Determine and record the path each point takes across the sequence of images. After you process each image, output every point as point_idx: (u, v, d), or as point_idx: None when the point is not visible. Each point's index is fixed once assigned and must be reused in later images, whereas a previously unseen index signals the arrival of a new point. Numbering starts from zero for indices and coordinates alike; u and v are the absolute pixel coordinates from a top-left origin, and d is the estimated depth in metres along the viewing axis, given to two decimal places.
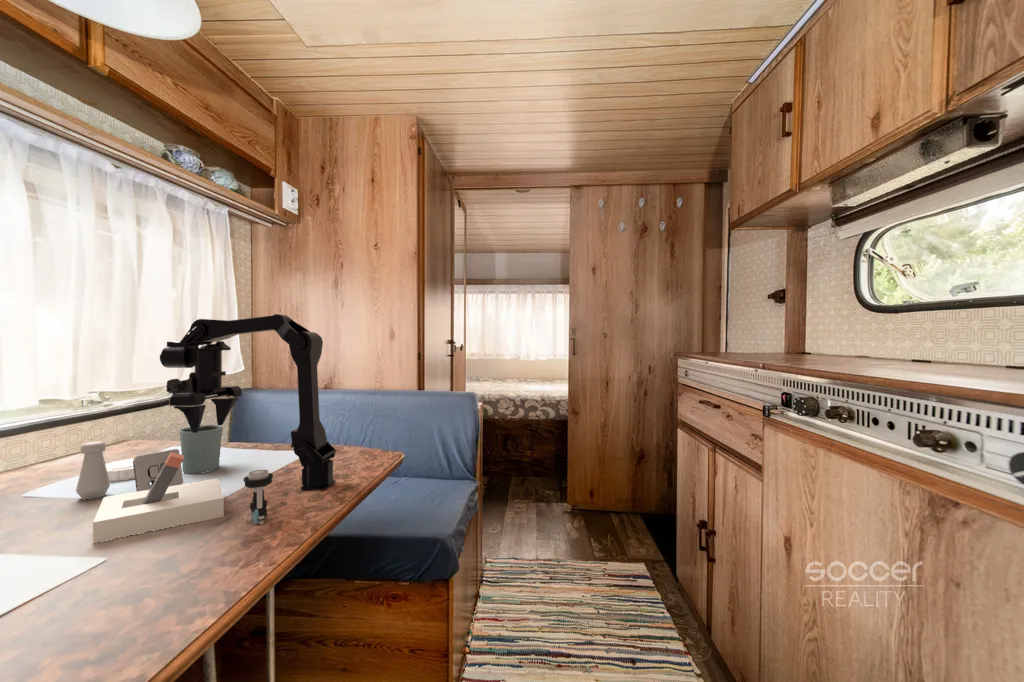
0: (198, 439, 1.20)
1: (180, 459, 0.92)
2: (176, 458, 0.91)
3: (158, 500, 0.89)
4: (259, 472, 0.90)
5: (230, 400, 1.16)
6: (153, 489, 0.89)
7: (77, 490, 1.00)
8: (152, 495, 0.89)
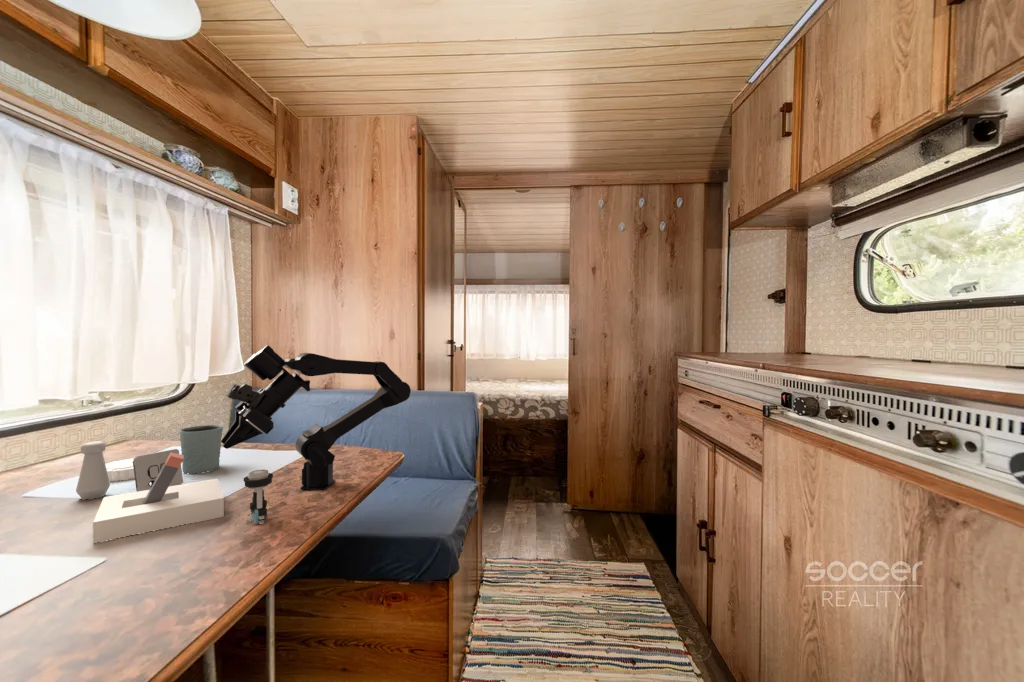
0: (198, 439, 1.20)
1: (180, 459, 0.92)
2: (176, 458, 0.91)
3: (158, 500, 0.89)
4: (259, 472, 0.90)
5: None
6: (153, 489, 0.89)
7: (77, 490, 1.00)
8: (152, 495, 0.89)
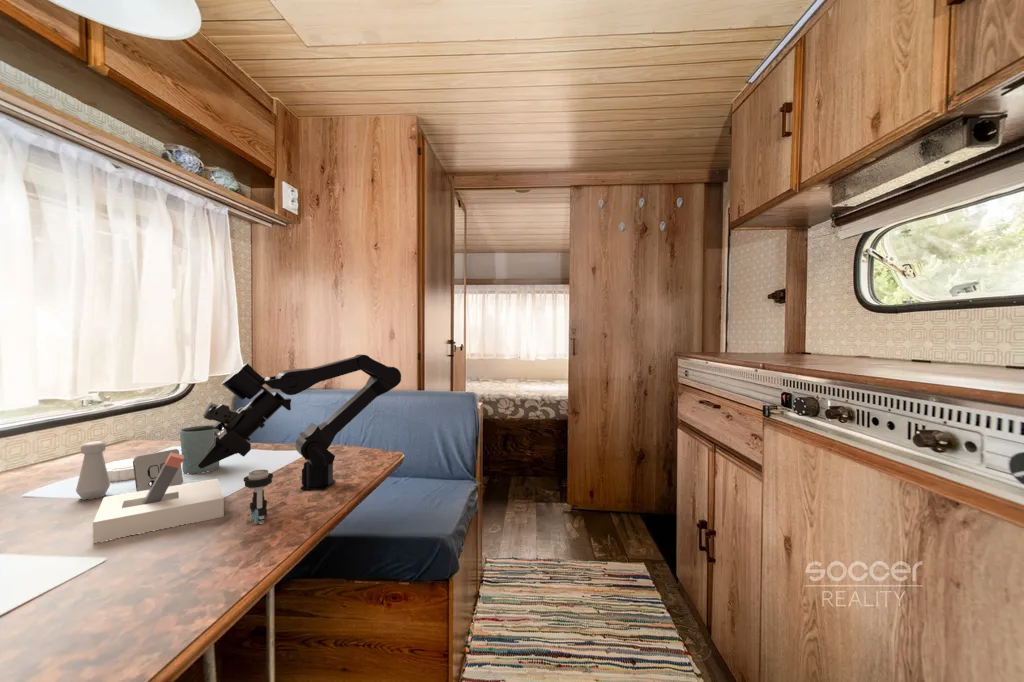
0: (198, 439, 1.20)
1: (180, 459, 0.92)
2: (176, 458, 0.91)
3: (158, 500, 0.89)
4: (259, 472, 0.90)
5: None
6: (153, 489, 0.89)
7: (77, 490, 1.00)
8: (152, 495, 0.89)
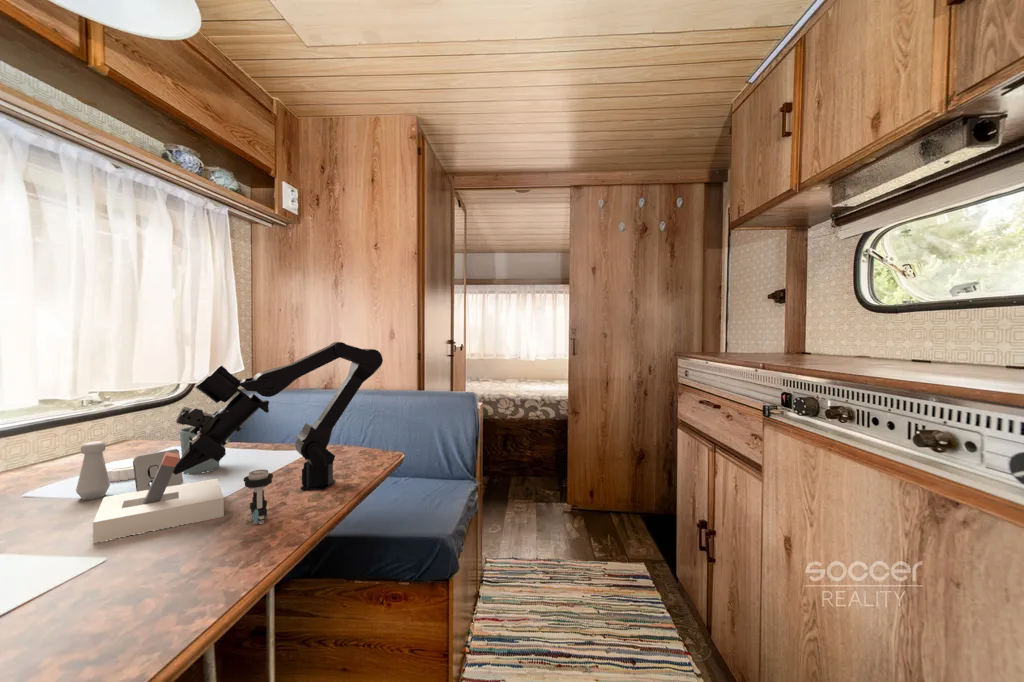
0: None
1: (176, 458, 0.91)
2: (172, 457, 0.91)
3: (158, 500, 0.89)
4: (259, 472, 0.90)
5: None
6: (151, 489, 0.89)
7: (77, 490, 1.00)
8: (151, 495, 0.89)
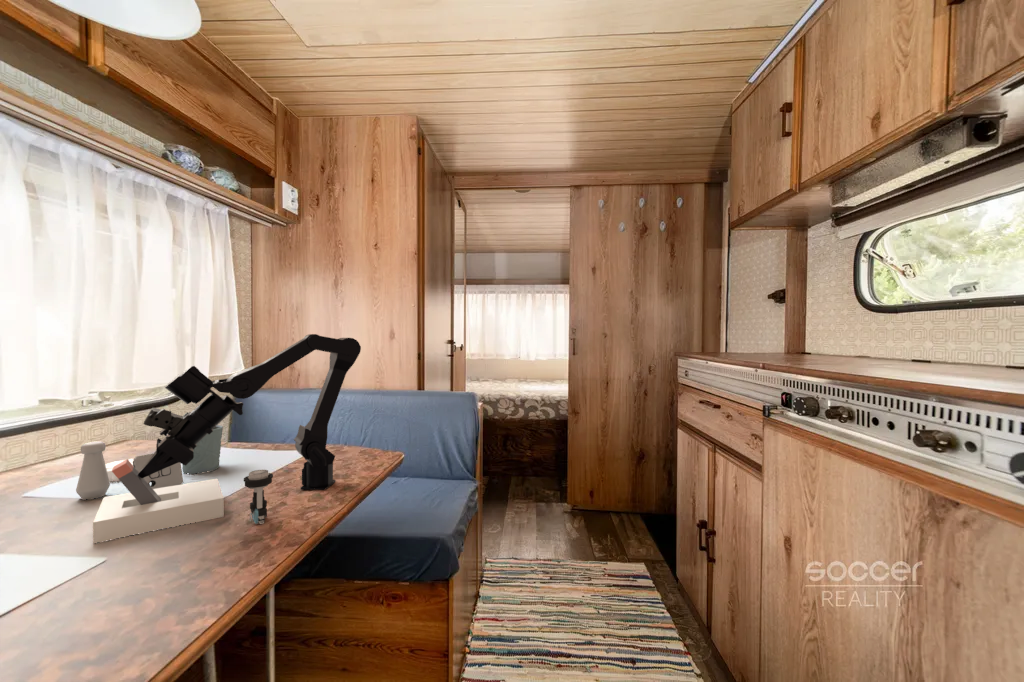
0: None
1: (123, 465, 0.86)
2: (119, 468, 0.86)
3: (152, 498, 0.89)
4: (259, 472, 0.90)
5: None
6: (136, 497, 0.87)
7: (77, 490, 1.00)
8: (142, 499, 0.88)
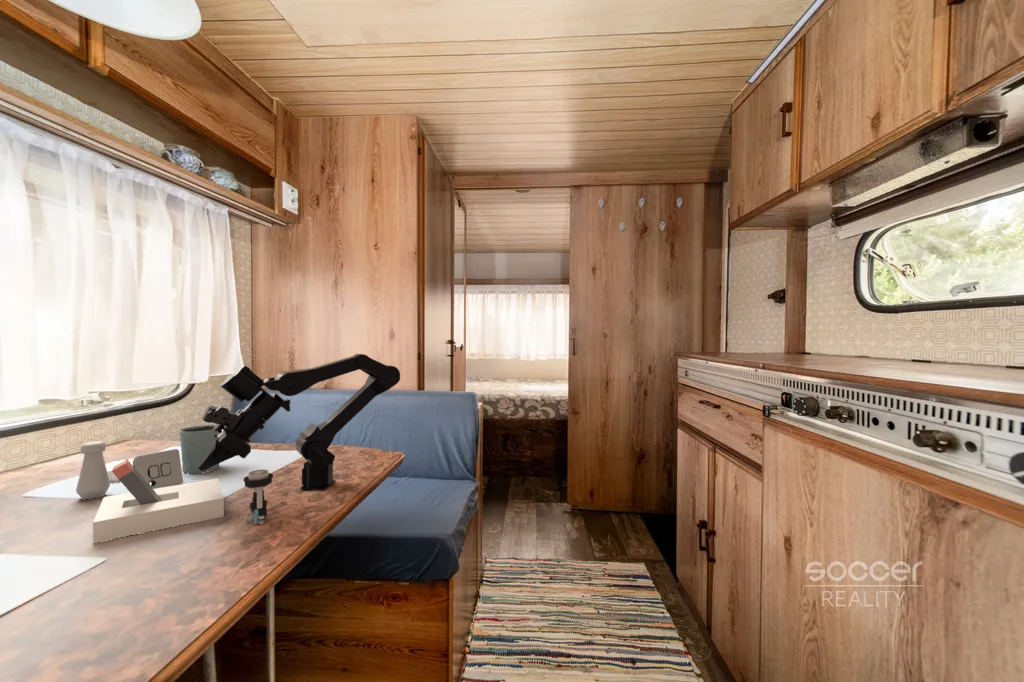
0: (198, 439, 1.20)
1: (123, 465, 0.86)
2: (119, 468, 0.86)
3: (152, 498, 0.89)
4: (259, 472, 0.90)
5: None
6: (136, 497, 0.87)
7: (77, 490, 1.00)
8: (142, 499, 0.88)
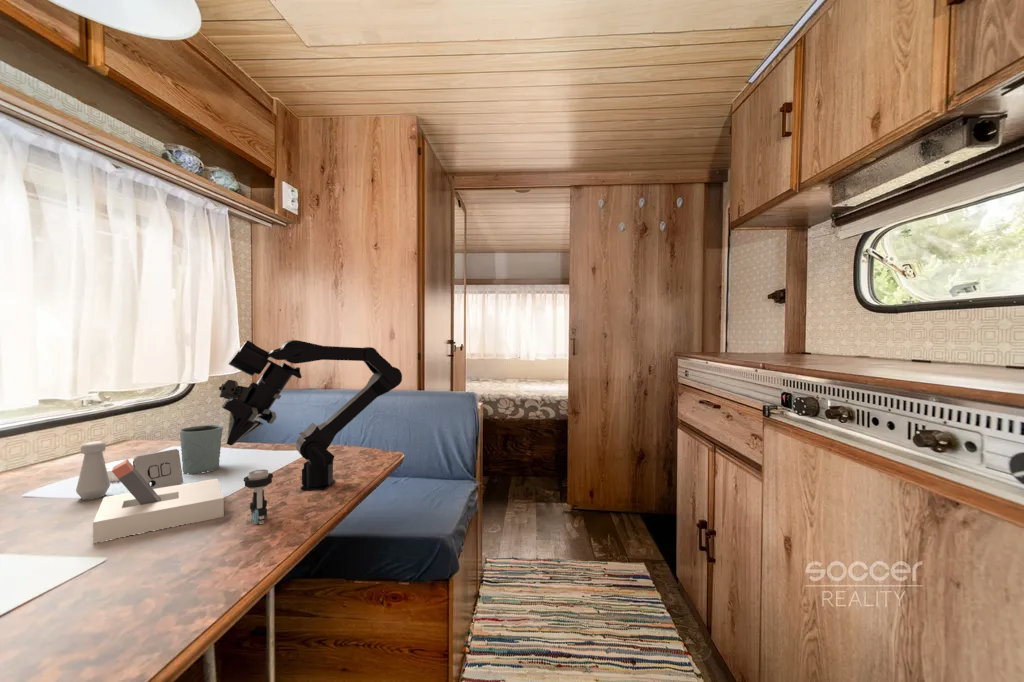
0: (198, 439, 1.20)
1: (123, 465, 0.86)
2: (119, 468, 0.86)
3: (152, 498, 0.89)
4: (259, 472, 0.90)
5: None
6: (136, 497, 0.87)
7: (77, 490, 1.00)
8: (142, 499, 0.88)
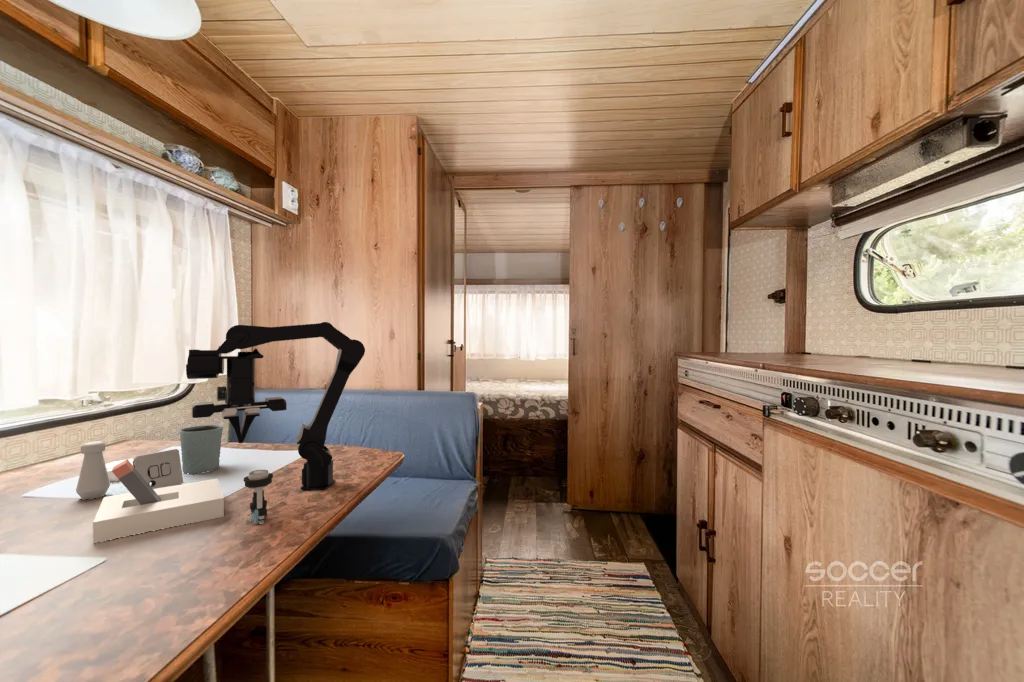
0: (198, 439, 1.20)
1: (123, 465, 0.86)
2: (119, 468, 0.86)
3: (152, 498, 0.89)
4: (259, 472, 0.90)
5: (245, 416, 1.01)
6: (136, 497, 0.87)
7: (77, 490, 1.00)
8: (142, 499, 0.88)
